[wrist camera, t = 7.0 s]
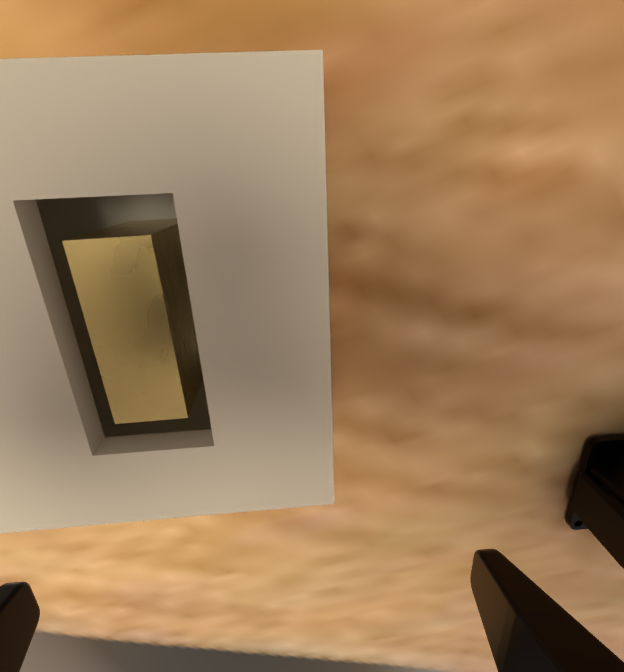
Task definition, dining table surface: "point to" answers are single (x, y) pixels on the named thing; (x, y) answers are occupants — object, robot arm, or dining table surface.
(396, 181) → the dining table surface
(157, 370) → the two-tone wooden block
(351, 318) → the dining table surface
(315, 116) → the moneybox
